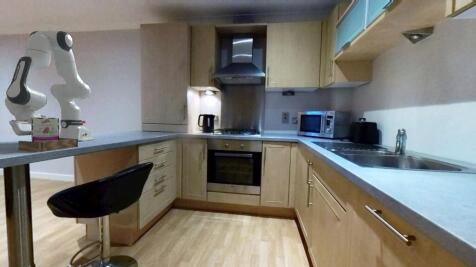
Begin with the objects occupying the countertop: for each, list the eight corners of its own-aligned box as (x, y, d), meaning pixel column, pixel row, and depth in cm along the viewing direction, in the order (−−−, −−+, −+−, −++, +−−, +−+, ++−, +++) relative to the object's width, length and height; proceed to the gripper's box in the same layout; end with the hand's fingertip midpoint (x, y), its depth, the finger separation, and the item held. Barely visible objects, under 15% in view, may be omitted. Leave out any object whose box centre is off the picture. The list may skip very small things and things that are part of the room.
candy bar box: (57, 147, 130) (57, 117, 129) (59, 148, 127) (59, 117, 126) (31, 148, 122) (30, 116, 121) (32, 150, 119) (31, 117, 117)
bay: (58, 145, 138) (58, 137, 138) (77, 146, 136) (77, 138, 136) (18, 149, 117) (18, 140, 117) (40, 151, 115) (40, 142, 115)
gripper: (10, 116, 117) (27, 136, 116) (50, 116, 137) (64, 134, 136) (3, 124, 118) (20, 145, 117) (44, 123, 138) (58, 141, 137)
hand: (44, 139), depth 127 cm, fingers closed
